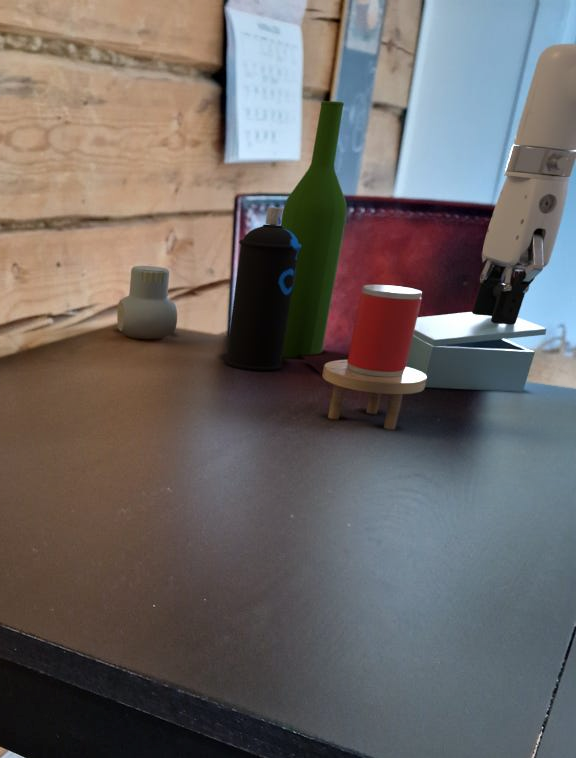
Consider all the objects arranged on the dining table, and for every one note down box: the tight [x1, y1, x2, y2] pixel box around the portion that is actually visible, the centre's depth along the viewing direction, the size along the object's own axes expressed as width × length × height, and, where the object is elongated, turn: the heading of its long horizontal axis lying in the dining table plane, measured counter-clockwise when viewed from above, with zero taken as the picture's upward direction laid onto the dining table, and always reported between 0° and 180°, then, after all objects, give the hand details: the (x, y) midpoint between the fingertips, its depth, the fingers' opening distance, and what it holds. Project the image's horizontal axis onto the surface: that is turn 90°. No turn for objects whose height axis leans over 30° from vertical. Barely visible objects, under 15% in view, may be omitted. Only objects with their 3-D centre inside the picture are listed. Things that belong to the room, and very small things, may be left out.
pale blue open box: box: [406, 335, 536, 393], centre depth 118 cm, size 14×15×6 cm
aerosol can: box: [224, 206, 301, 372], centre depth 117 cm, size 8×8×20 cm
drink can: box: [347, 284, 423, 377], centre depth 92 cm, size 6×6×8 cm
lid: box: [413, 282, 547, 346], centre depth 115 cm, size 14×15×5 cm
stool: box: [321, 359, 427, 430], centre depth 95 cm, size 11×11×6 cm
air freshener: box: [116, 265, 178, 340], centre depth 133 cm, size 11×8×10 cm
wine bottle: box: [280, 100, 348, 360], centre depth 123 cm, size 9×9×32 cm
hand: (493, 317), depth 115 cm, fingers closed on lid, 5 cm apart
